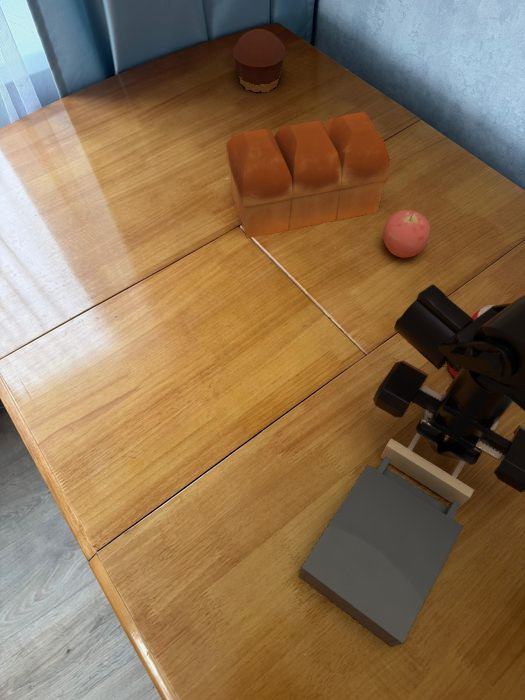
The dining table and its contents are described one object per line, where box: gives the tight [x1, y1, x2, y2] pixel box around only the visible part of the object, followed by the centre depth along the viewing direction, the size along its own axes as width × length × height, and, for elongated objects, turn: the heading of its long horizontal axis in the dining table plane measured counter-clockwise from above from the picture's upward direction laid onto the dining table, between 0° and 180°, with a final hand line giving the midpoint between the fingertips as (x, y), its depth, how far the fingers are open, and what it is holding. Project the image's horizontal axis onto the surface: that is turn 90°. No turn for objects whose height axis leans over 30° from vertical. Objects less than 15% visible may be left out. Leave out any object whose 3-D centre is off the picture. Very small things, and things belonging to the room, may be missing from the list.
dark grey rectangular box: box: [298, 464, 464, 648], centre depth 61 cm, size 14×12×6 cm
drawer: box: [376, 431, 475, 520], centre depth 64 cm, size 18×11×4 cm, turn 144°
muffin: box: [232, 28, 287, 85], centre depth 113 cm, size 12×11×10 cm
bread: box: [225, 111, 391, 239], centre depth 90 cm, size 25×12×15 cm, turn 105°
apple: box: [382, 209, 431, 258], centre depth 87 cm, size 7×7×8 cm
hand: (438, 450), depth 66 cm, fingers closed, pressing on drawer
